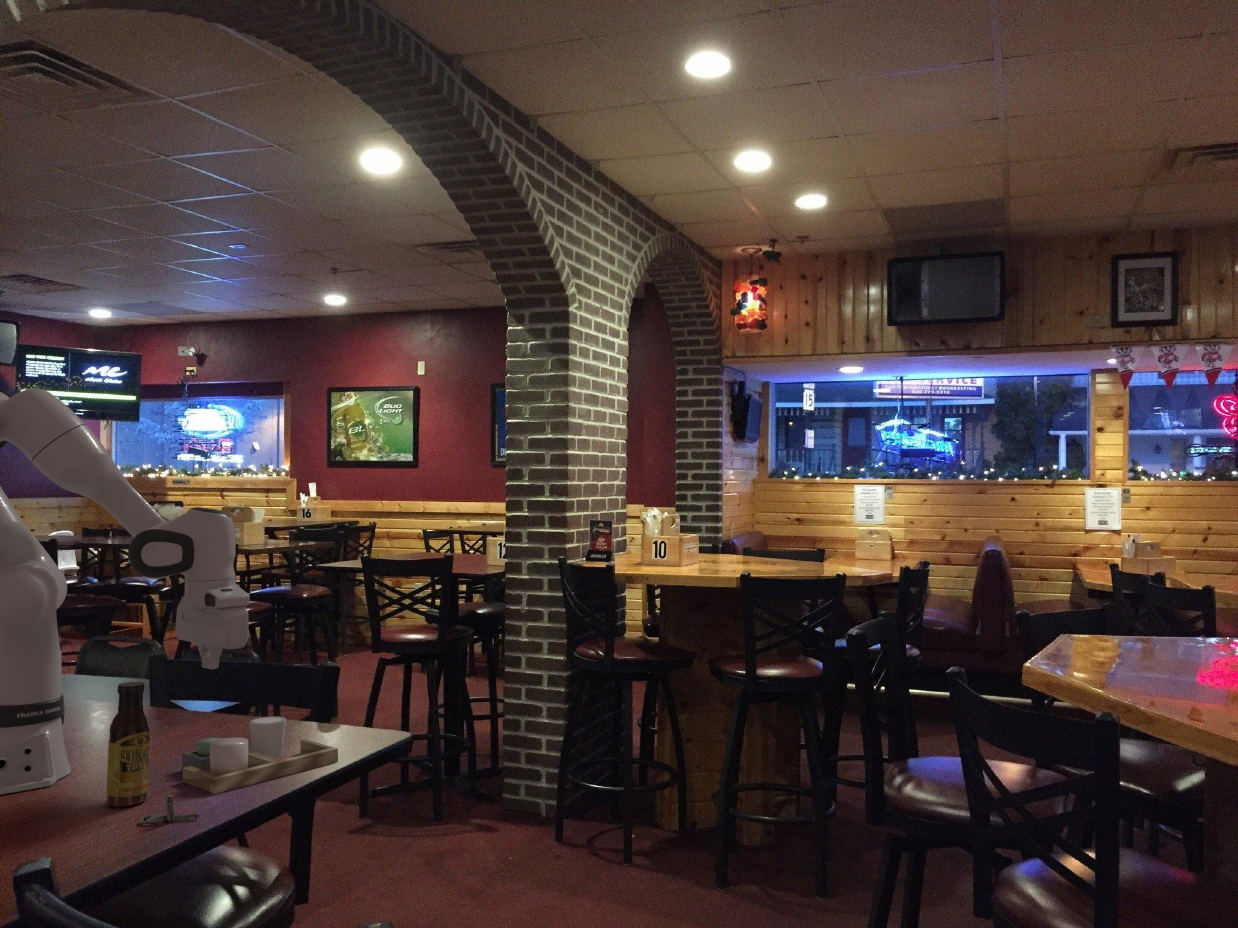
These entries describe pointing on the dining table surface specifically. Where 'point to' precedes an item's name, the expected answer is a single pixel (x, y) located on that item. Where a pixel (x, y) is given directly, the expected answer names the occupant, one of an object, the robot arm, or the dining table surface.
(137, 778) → the sauce bottle
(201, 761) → the button box
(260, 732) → the white tapered cup
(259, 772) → the frame
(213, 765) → the white cylinder puck
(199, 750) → the button
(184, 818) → the strap clip
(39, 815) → the dining table surface
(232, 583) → the robot arm
